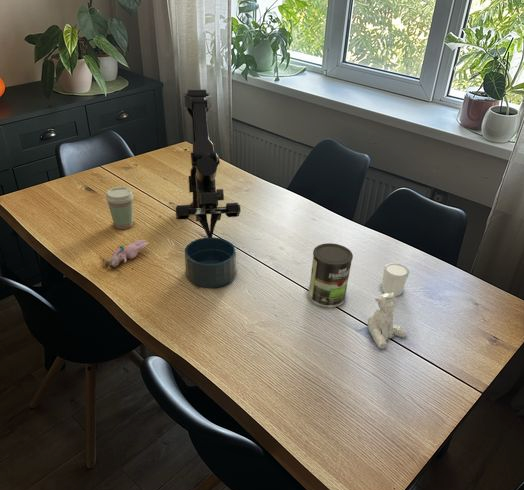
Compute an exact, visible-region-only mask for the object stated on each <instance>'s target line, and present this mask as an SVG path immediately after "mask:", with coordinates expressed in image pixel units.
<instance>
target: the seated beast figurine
mask: <svg viewBox="0 0 524 490" xmlns="http://www.w3.org/2000/svg"><path fill="white" fill-rule="evenodd" d="M374 300H375V302H377V305H378V308H377V309H375V311H374V313H373V314H372V315H370V316H368V318H367V329H368V331H369V334H370V335H371V338H373V341H374V343H375V344H376V346H377V348H378V349H380V350H381V349H382V350H383V349H385V348H387V345H388V344H387V341H388V339H392V338H393V337H396V336H397V337H399V338H403V339H404V337H405V335H406V333H407V332H406V330H405V329H403V327H402V326H401V325H398V324H396V323H394V322H393V321H394V310H395V308H396V307H397V298H396V296H394V293H391V294H389V293H382V294H381V295H380V296H378V297H375V299H374Z"/></svg>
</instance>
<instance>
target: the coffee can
mask: <svg viewBox="0 0 524 490" xmlns="http://www.w3.org/2000/svg"><path fill="white" fill-rule="evenodd" d="M312 255H313V256H312V264H311V270H310V271H311V272H310V279H309V286H308V292H307V295H308V298H309V300H310V301H311V302H312V303H313V304H315V305H317V306H319V307H323V308H328V309H329V308H330V309H331V308H336V307H339V306H341V305H342V304H344V302H345V300H346V293H347V288H348V283H349V277H350V271H351V267H352V261H353V258H354V255H353V253H352V251H351V250H350V249H349V248H348V247H346V246H344V245H342V244H338V243H331V242H329V243H327V242H326V243H321V244H319V245H316V246H315V247H314V249H313V251H312Z"/></svg>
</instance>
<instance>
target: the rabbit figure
mask: <svg viewBox="0 0 524 490" xmlns="http://www.w3.org/2000/svg"><path fill="white" fill-rule="evenodd" d="M148 244H150V242H147V240H145V239H137V240H134V241H133V242H132V243H131V244H127V245H126V246H124V245H123V244H120V245H118V249H117V250H116V251H115V252H113V253H112V255H111V256H110V257H109V258H108V259H105V260H104V261H102V265H103V266H104V268H105V267H106V263H107V264H108V265H107V269H109V270H111V267H112V268H117V267H118V266H119V265H120V263H121V262H123V263H124V264H125V263H127V260H128V259H129V260H133V259H135V258H136V256H137V255H138V253H139V252H140V251H142V250H143V248H145V247H146V246H147V245H148Z"/></svg>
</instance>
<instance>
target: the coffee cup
mask: <svg viewBox="0 0 524 490" xmlns="http://www.w3.org/2000/svg"><path fill="white" fill-rule="evenodd" d="M105 200H106V202H107V204H108V207H109V212H110V215H111V219H112V223H113V226H114V227H115V229H118V230H127V229H130V228H131V227H132V226H133V225H134V224H133V223H134V221H133V220H134V216H133V215H134V193H133V192H132V190H131V189H130V188H128V187H125V186H116V187H111V188H110V189H108V190H107V191H106V195H105Z"/></svg>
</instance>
